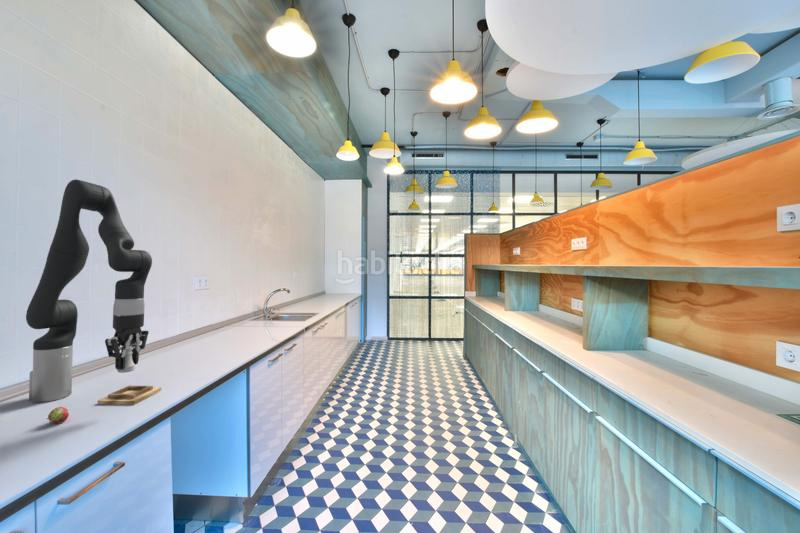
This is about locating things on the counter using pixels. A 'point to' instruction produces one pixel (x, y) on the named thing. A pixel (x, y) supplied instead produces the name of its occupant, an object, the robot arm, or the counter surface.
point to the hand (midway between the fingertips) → (127, 366)
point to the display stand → (130, 395)
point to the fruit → (58, 415)
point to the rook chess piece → (128, 361)
